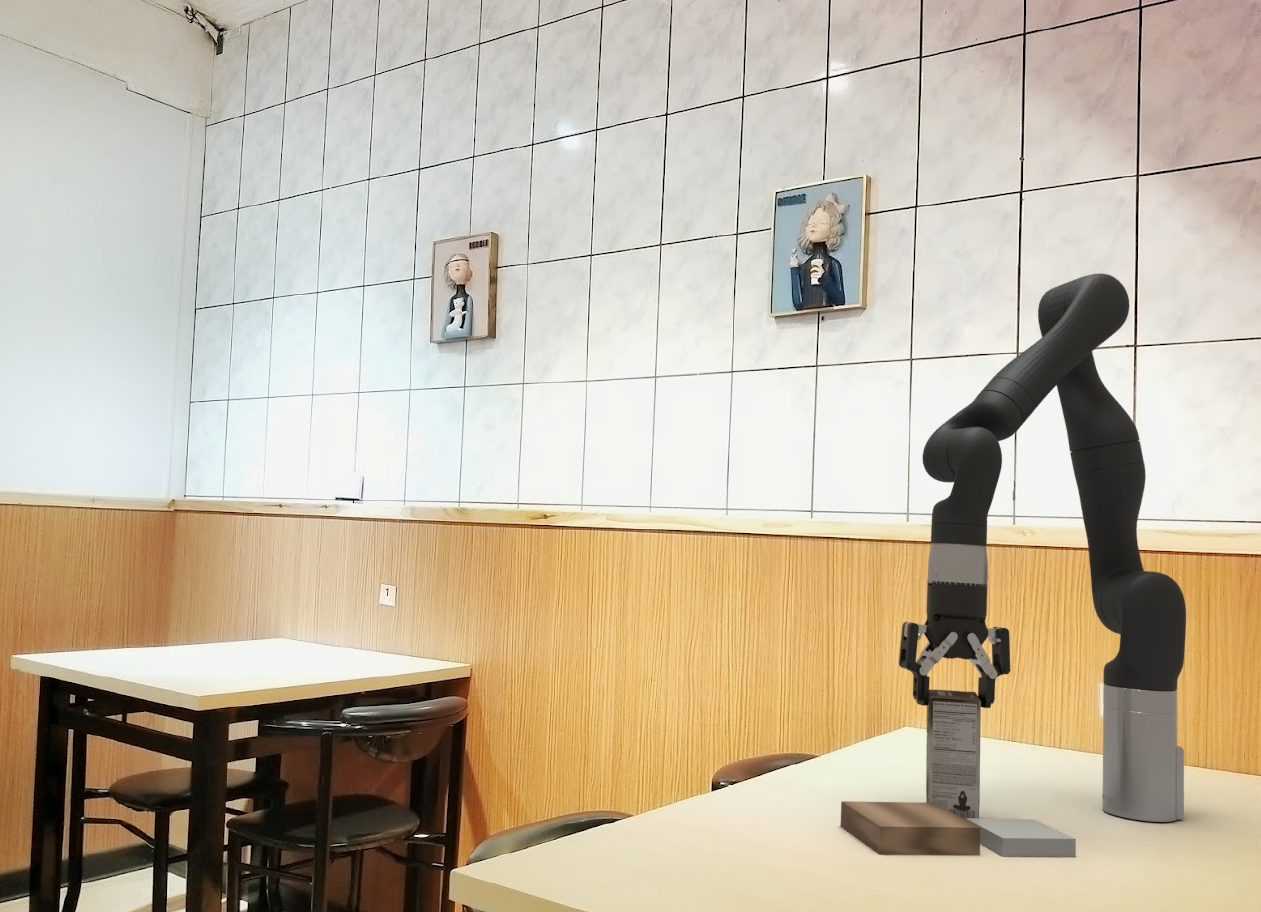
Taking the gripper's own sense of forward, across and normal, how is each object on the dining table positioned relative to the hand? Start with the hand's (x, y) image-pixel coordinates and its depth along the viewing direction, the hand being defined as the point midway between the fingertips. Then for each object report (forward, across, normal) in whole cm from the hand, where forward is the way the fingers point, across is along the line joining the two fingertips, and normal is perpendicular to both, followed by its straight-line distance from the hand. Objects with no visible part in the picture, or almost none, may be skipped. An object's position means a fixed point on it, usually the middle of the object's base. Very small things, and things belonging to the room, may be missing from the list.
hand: (953, 706), depth 136 cm
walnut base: (+15, +10, +9) cm, 20 cm away
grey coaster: (+14, -3, +11) cm, 19 cm away
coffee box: (+15, 0, 0) cm, 15 cm away
